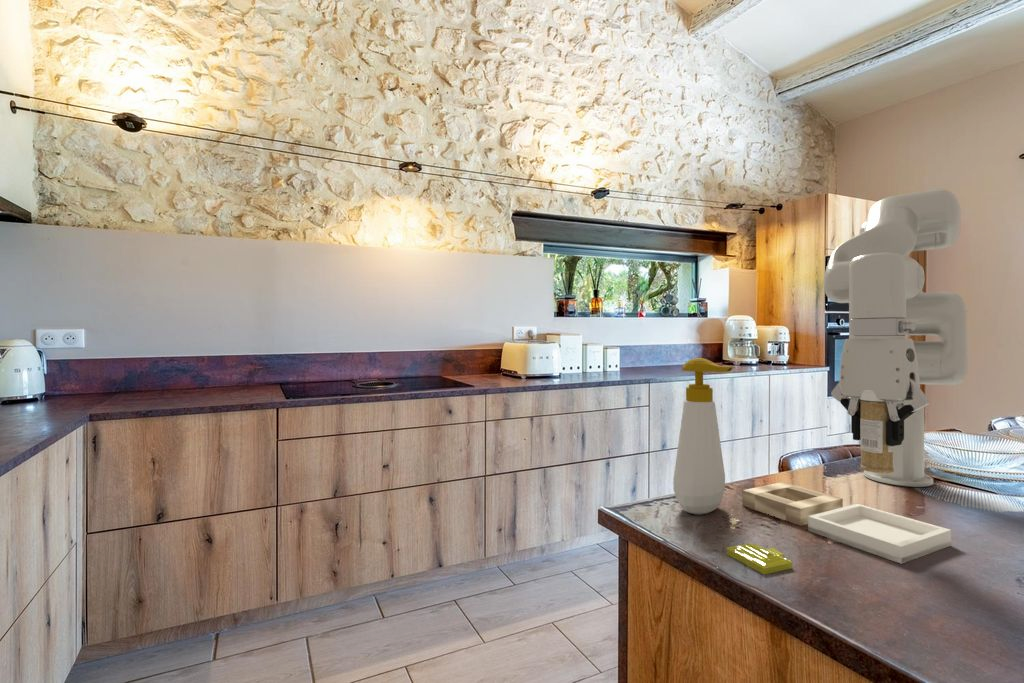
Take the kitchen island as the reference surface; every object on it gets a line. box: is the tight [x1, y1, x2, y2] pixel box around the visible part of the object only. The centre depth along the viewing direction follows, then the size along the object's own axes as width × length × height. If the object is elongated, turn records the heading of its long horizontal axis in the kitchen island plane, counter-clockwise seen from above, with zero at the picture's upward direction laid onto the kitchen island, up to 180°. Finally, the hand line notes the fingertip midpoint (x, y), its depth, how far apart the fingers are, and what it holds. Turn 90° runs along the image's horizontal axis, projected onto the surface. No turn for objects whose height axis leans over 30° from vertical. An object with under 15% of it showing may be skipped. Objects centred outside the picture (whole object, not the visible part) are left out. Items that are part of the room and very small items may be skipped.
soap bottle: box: [672, 357, 733, 515], centre depth 96 cm, size 13×10×29 cm
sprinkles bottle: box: [859, 390, 894, 474], centre depth 82 cm, size 5×5×14 cm
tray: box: [807, 503, 952, 565], centre depth 83 cm, size 14×14×2 cm
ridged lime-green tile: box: [726, 542, 800, 575], centre depth 75 cm, size 10×9×3 cm
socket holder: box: [741, 481, 844, 527], centre depth 96 cm, size 12×12×3 cm
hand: (876, 440), depth 82 cm, fingers closed on sprinkles bottle, 4 cm apart
